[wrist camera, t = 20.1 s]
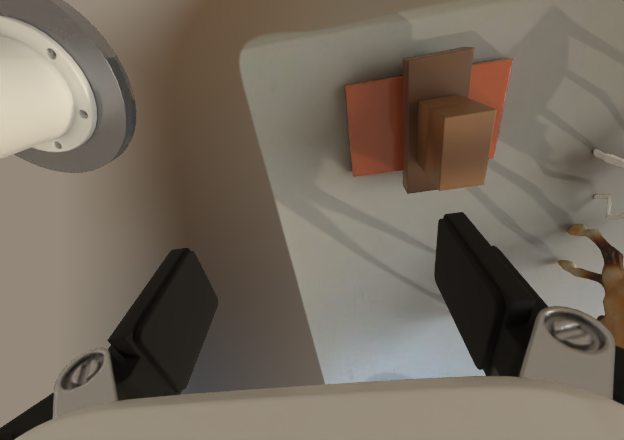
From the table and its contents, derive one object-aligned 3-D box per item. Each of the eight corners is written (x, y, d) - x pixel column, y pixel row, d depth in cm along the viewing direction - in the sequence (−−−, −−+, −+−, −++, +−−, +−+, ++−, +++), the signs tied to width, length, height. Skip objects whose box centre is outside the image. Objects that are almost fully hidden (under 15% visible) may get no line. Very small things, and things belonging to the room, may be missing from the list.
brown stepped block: (446, 173, 33) (489, 219, 25) (399, 180, 34) (426, 227, 26) (457, 46, 27) (521, 49, 18) (398, 57, 27) (434, 66, 19)
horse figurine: (464, 335, 51) (538, 486, 34) (433, 319, 49) (495, 471, 32) (652, 212, 37) (946, 366, 20) (619, 183, 35) (917, 326, 17)
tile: (352, 172, 35) (353, 176, 34) (344, 84, 30) (345, 86, 29) (488, 154, 33) (493, 158, 32) (506, 57, 28) (513, 58, 27)
